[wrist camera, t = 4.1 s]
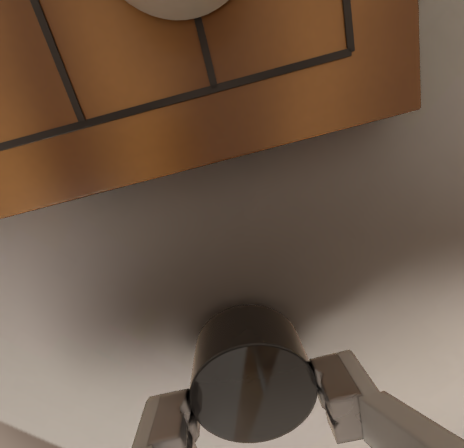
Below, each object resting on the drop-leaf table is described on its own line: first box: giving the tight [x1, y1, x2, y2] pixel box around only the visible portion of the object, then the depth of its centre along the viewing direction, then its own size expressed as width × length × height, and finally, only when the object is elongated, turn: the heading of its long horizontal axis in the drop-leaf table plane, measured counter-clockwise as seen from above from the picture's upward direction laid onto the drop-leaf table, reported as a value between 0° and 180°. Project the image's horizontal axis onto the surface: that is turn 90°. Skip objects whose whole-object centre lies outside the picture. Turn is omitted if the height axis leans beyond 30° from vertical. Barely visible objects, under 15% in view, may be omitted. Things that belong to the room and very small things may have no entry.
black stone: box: [189, 305, 318, 443], centre depth 9 cm, size 5×5×2 cm
